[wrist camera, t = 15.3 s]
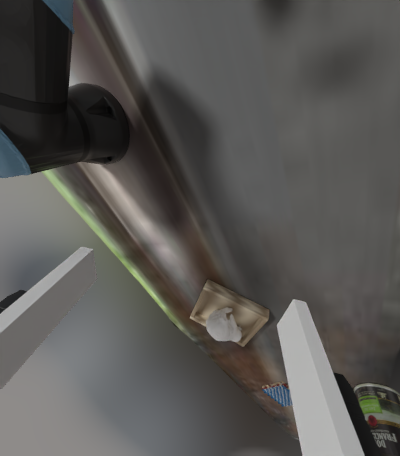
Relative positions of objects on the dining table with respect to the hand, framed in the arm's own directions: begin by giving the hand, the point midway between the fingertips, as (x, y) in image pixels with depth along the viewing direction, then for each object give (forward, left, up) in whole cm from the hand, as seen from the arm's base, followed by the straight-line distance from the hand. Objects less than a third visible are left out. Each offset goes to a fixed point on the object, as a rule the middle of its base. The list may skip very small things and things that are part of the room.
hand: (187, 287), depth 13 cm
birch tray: (+10, -38, -29) cm, 49 cm away
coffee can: (+55, -41, -29) cm, 75 cm away
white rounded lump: (+12, -40, -29) cm, 50 cm away
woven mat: (+41, -64, -30) cm, 82 cm away
